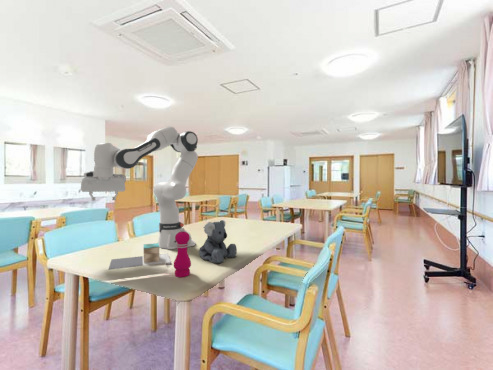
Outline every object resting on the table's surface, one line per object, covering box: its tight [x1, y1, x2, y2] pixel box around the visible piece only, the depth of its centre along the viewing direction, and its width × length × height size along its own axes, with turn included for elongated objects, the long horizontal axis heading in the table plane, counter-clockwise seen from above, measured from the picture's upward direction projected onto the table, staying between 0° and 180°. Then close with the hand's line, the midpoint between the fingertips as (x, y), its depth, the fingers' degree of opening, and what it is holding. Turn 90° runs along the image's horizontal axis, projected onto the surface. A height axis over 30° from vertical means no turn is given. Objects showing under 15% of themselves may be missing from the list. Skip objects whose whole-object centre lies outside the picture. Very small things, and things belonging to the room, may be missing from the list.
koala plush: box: [198, 219, 237, 264], centre depth 132 cm, size 17×18×20 cm
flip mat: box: [108, 253, 172, 270], centre depth 123 cm, size 26×15×1 cm, turn 113°
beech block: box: [143, 242, 160, 263], centre depth 124 cm, size 7×7×7 cm
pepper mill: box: [173, 227, 192, 278], centre depth 108 cm, size 7×7×20 cm
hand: (103, 200), depth 133 cm, fingers open, 8 cm apart
